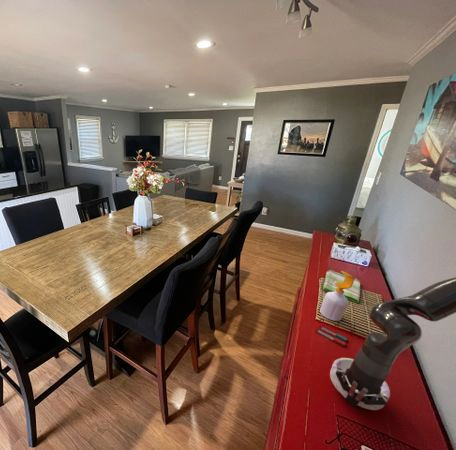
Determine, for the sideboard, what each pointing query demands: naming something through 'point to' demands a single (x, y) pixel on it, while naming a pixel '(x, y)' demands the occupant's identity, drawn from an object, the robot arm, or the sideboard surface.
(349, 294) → the dish towel
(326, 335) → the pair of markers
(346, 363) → the paper bowls
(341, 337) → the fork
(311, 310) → the sideboard surface
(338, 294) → the soap bottle
